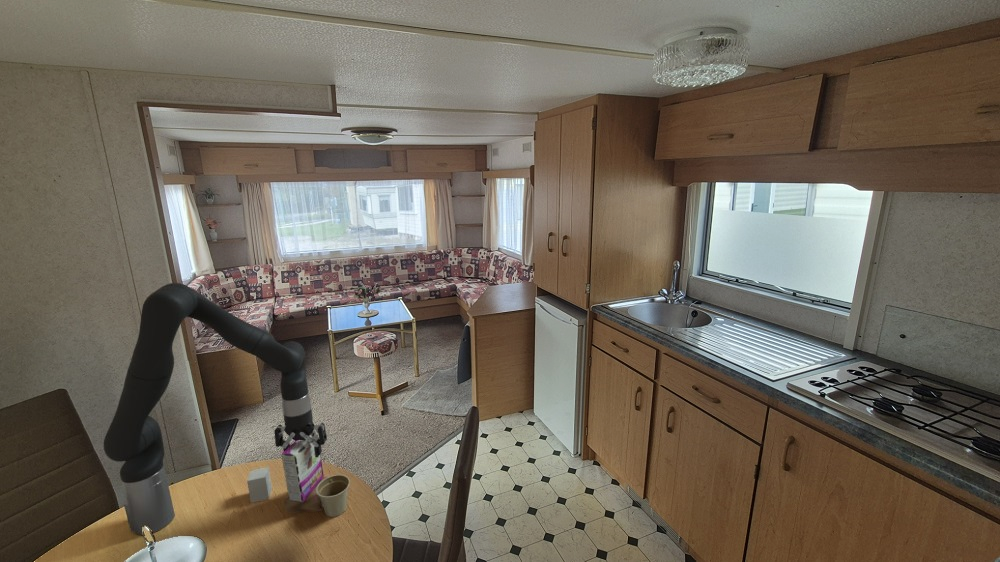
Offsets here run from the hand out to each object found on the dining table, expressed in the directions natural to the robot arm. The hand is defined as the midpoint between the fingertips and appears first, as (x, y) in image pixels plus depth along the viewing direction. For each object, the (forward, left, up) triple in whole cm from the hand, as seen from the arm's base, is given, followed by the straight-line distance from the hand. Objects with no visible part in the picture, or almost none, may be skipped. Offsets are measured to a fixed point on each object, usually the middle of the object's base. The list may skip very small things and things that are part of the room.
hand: (303, 456), depth 126 cm
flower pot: (+10, -5, -16) cm, 19 cm away
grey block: (-16, +3, -16) cm, 23 cm away
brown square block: (0, 0, -16) cm, 16 cm away
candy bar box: (0, 0, -12) cm, 12 cm away
